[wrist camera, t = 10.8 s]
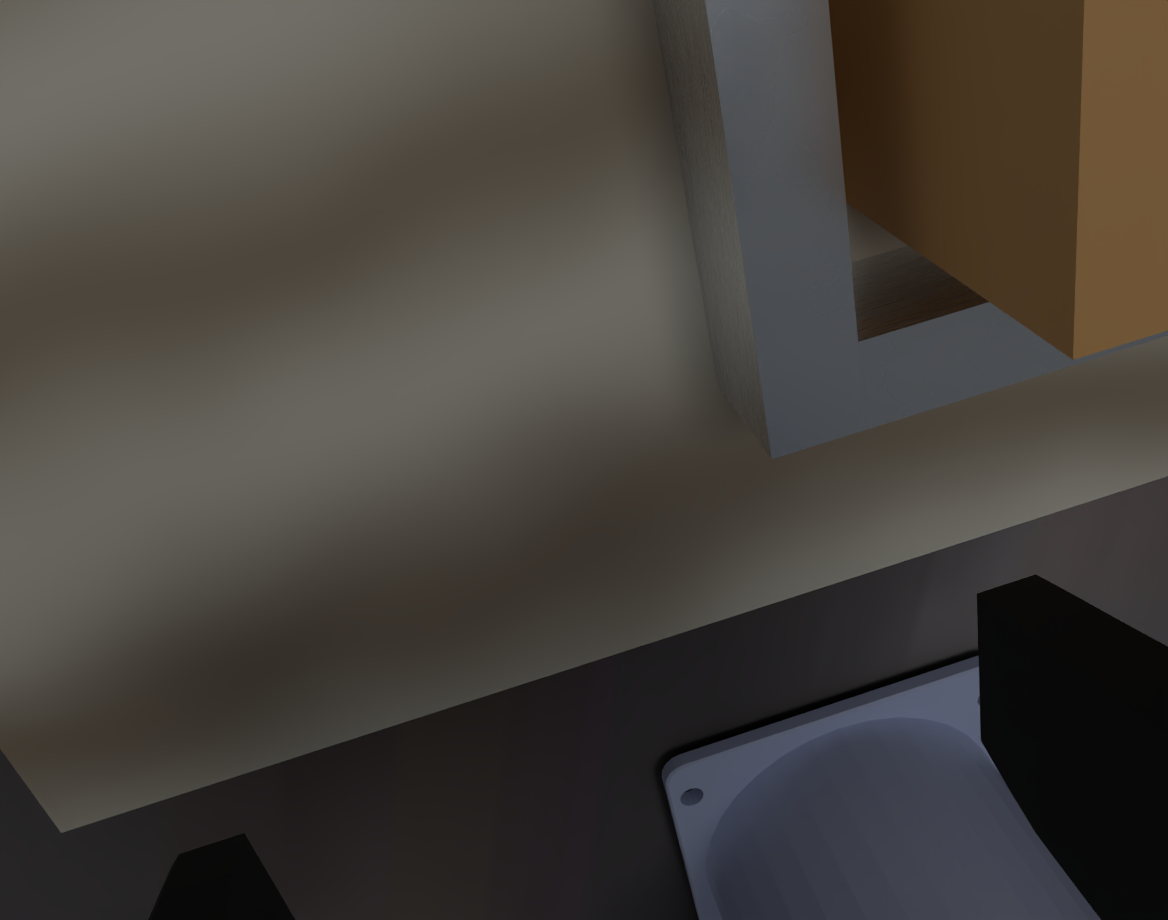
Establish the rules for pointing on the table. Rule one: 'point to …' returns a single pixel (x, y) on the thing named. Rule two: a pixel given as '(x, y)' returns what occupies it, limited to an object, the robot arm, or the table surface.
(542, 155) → the base board
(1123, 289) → the cardboard-brown box
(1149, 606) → the table surface
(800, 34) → the grey rectangular frame
